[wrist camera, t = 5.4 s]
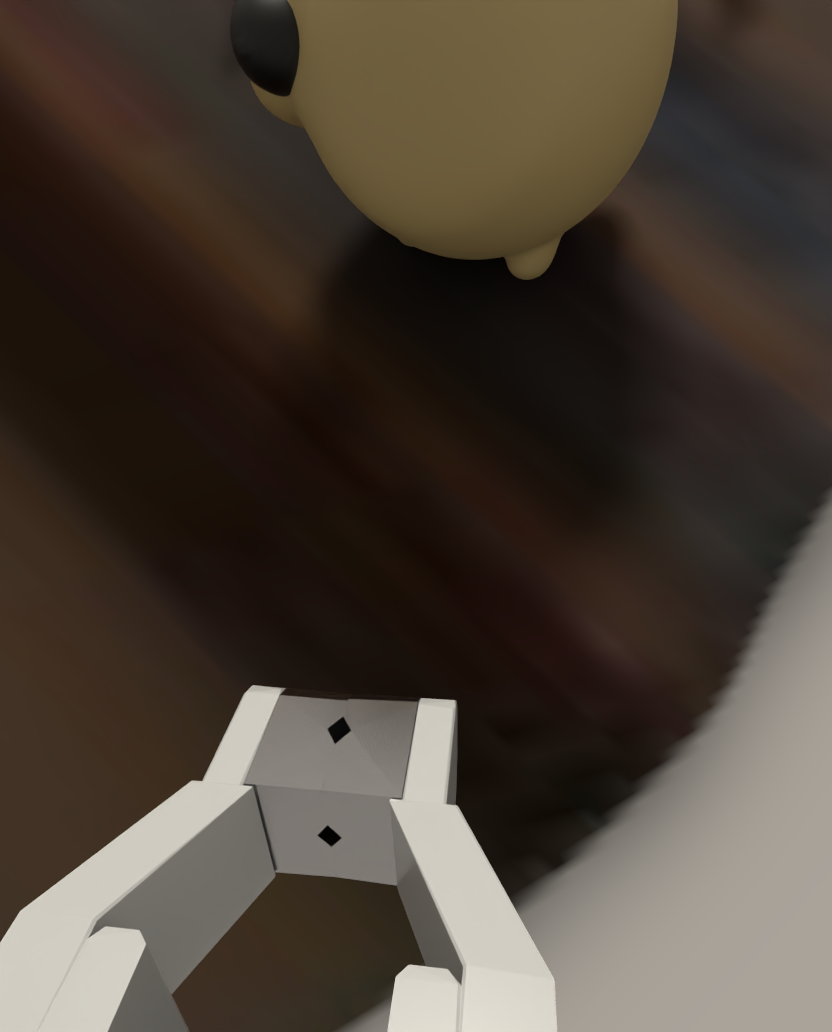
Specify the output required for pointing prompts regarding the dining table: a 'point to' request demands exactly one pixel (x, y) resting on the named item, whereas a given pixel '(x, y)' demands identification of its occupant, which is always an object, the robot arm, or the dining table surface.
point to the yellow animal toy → (466, 109)
